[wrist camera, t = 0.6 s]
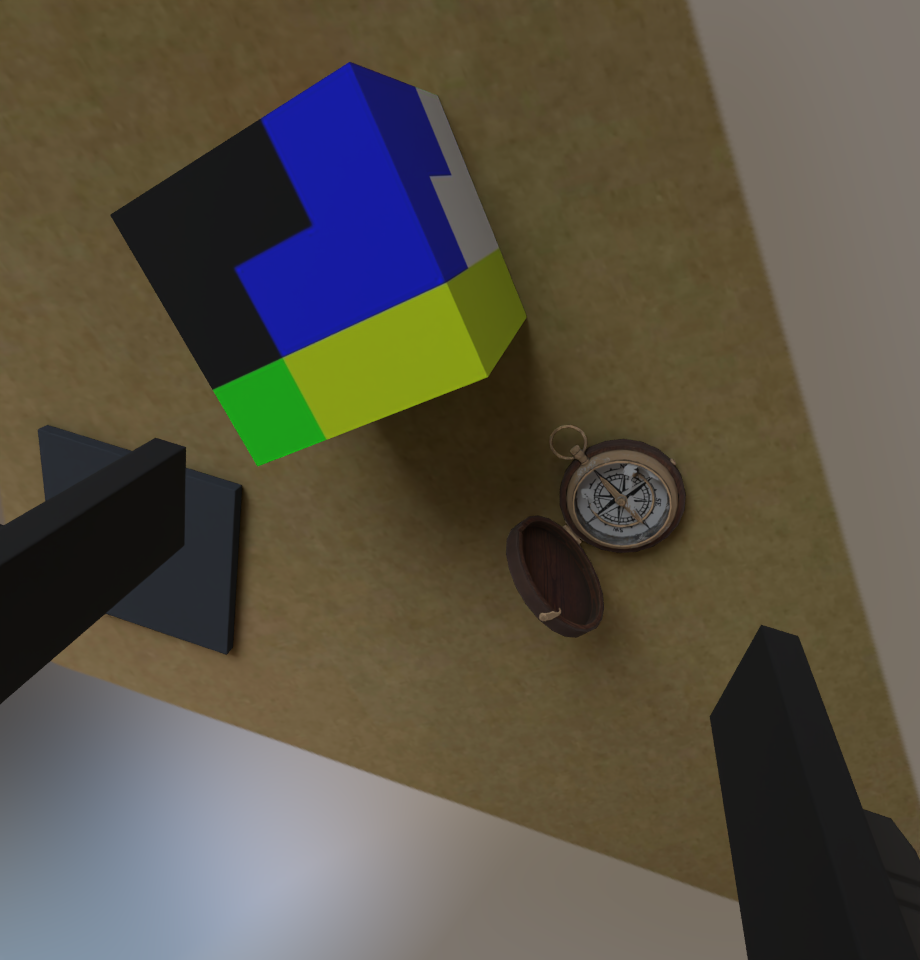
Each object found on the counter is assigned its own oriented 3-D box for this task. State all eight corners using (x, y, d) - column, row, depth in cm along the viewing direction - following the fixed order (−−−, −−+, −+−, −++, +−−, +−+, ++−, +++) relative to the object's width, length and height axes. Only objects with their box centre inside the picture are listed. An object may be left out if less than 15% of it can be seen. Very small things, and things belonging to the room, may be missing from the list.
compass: (711, 499, 32) (733, 582, 26) (587, 578, 36) (579, 668, 30) (607, 382, 31) (603, 438, 25) (489, 476, 35) (458, 546, 28)
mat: (47, 424, 40) (36, 429, 39) (242, 484, 38) (235, 490, 38) (64, 590, 46) (55, 596, 45) (233, 647, 45) (227, 655, 44)
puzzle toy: (437, 95, 28) (349, 61, 19) (526, 316, 31) (488, 377, 22) (255, 201, 31) (110, 214, 22) (351, 389, 34) (257, 466, 25)
